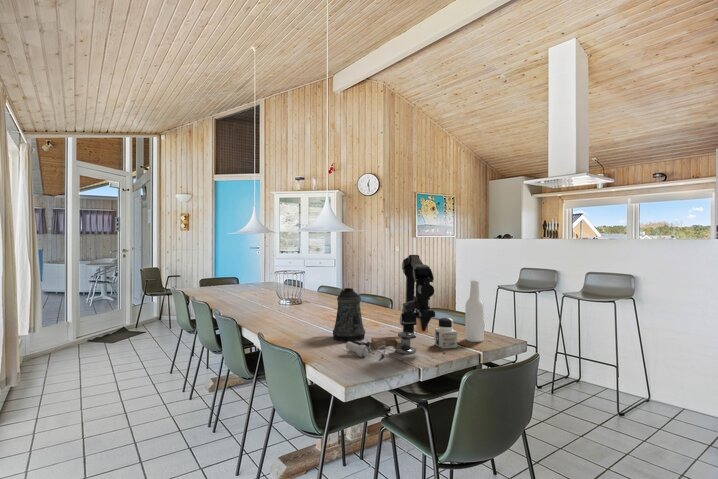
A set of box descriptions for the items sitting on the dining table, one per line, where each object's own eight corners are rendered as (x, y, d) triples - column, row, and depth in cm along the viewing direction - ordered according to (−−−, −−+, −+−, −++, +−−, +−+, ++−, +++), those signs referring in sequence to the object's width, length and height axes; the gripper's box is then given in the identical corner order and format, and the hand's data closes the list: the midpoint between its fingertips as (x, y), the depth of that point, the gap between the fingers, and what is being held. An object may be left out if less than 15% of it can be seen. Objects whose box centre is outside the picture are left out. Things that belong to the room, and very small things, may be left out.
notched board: (371, 342, 193) (371, 337, 193) (403, 341, 195) (403, 336, 195) (374, 348, 182) (374, 343, 182) (409, 347, 184) (409, 342, 184)
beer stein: (351, 344, 190) (351, 291, 190) (321, 338, 202) (321, 288, 202) (371, 337, 204) (371, 288, 204) (342, 332, 215) (342, 285, 215)
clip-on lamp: (389, 361, 174) (353, 346, 182) (392, 347, 174) (357, 333, 182) (378, 366, 163) (341, 350, 171) (382, 351, 163) (345, 336, 171)
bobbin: (393, 349, 182) (393, 331, 182) (413, 348, 183) (413, 331, 183) (398, 354, 173) (398, 336, 173) (418, 353, 174) (418, 335, 174)
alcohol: (487, 341, 196) (487, 280, 196) (471, 343, 193) (472, 281, 193) (476, 337, 204) (477, 279, 204) (461, 338, 201) (462, 279, 201)
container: (442, 348, 183) (442, 320, 183) (434, 344, 190) (434, 317, 190) (457, 347, 185) (457, 319, 185) (449, 343, 192) (449, 316, 192)
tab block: (416, 331, 177) (416, 317, 177) (425, 331, 177) (425, 317, 178) (419, 333, 173) (419, 319, 173) (427, 333, 173) (427, 319, 174)
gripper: (399, 292, 183) (399, 326, 183) (409, 297, 165) (409, 335, 165) (422, 292, 185) (422, 325, 185) (435, 297, 167) (435, 334, 166)
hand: (422, 330), depth 175 cm, fingers closed on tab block, 4 cm apart
